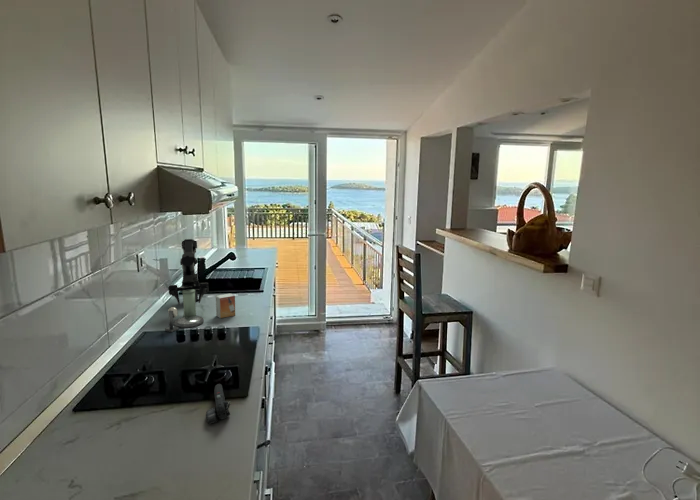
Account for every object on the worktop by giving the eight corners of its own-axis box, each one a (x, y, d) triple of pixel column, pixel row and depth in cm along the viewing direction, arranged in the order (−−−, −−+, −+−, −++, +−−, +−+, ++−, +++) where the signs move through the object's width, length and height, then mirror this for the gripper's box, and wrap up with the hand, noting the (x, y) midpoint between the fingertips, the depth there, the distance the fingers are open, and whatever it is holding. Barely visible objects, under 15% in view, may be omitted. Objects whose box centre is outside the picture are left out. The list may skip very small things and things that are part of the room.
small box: (220, 318, 188) (219, 298, 187) (216, 315, 193) (215, 295, 191) (235, 315, 193) (235, 295, 192) (231, 312, 198) (230, 292, 196)
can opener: (231, 424, 108) (230, 406, 107) (205, 428, 106) (204, 410, 105) (231, 391, 124) (230, 375, 123) (208, 394, 122) (207, 378, 121)
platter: (193, 316, 191) (193, 313, 191) (209, 322, 184) (209, 319, 184) (168, 323, 180) (168, 321, 180) (184, 330, 173) (184, 327, 173)
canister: (191, 312, 196) (190, 288, 193) (198, 315, 193) (197, 290, 190) (181, 316, 191) (179, 291, 189) (188, 318, 188) (186, 293, 185)
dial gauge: (172, 332, 170) (170, 310, 168) (164, 330, 172) (162, 308, 170) (179, 329, 174) (178, 307, 172) (171, 327, 176) (170, 306, 174)
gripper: (167, 269, 188) (166, 297, 180) (207, 267, 195) (208, 294, 186) (169, 281, 197) (169, 308, 188) (208, 278, 203) (209, 304, 195)
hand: (189, 303), depth 189 cm, fingers open, 9 cm apart
